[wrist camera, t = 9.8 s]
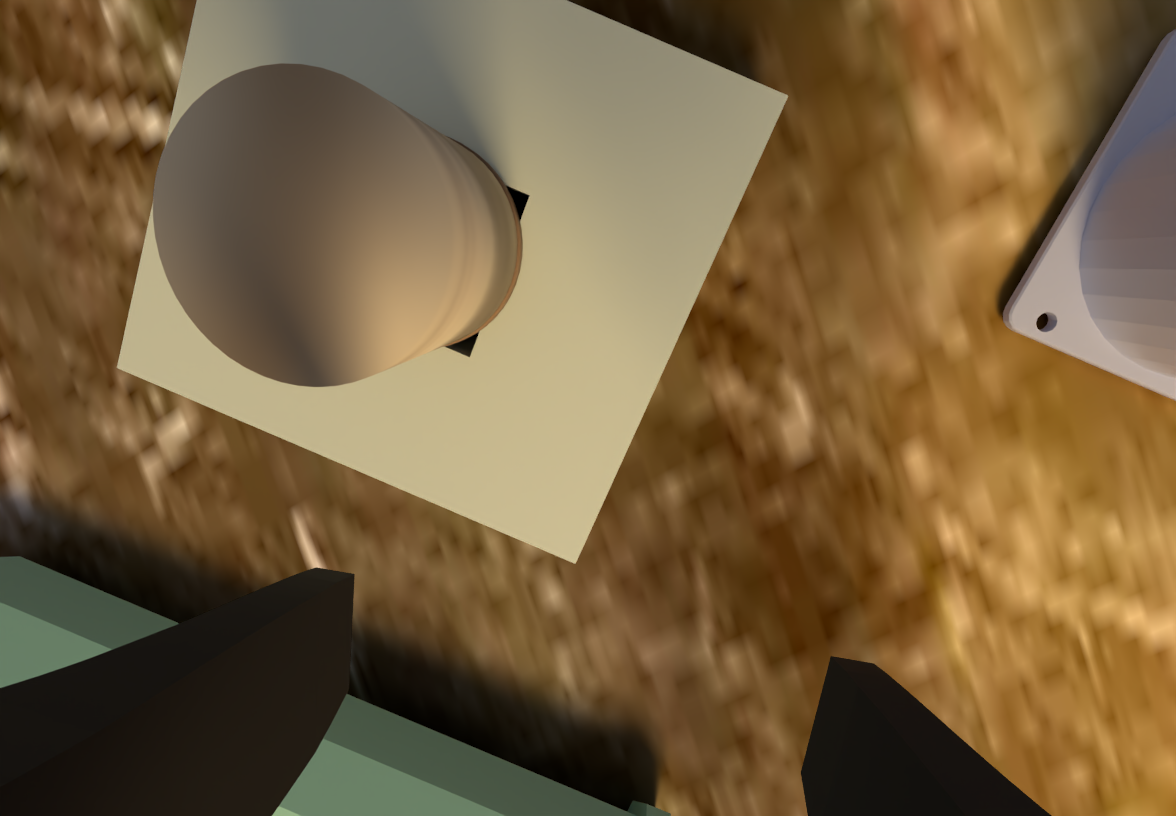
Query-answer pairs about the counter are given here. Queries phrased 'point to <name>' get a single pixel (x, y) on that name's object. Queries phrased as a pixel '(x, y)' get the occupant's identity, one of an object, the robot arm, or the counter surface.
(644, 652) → the counter surface
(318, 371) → the peg
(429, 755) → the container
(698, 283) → the board
